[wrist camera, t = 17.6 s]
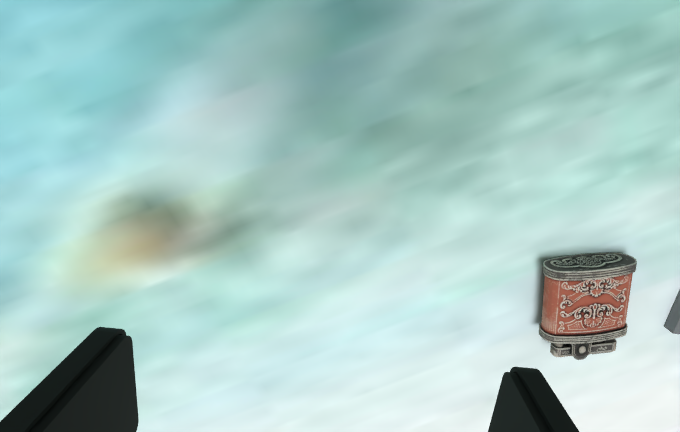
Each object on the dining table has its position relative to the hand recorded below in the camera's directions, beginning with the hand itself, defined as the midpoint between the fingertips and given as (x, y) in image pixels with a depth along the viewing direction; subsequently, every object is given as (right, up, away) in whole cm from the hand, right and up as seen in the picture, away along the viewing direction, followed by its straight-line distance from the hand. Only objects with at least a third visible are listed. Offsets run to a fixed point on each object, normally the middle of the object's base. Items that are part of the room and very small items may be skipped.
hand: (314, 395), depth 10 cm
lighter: (+23, 0, +27) cm, 36 cm away
